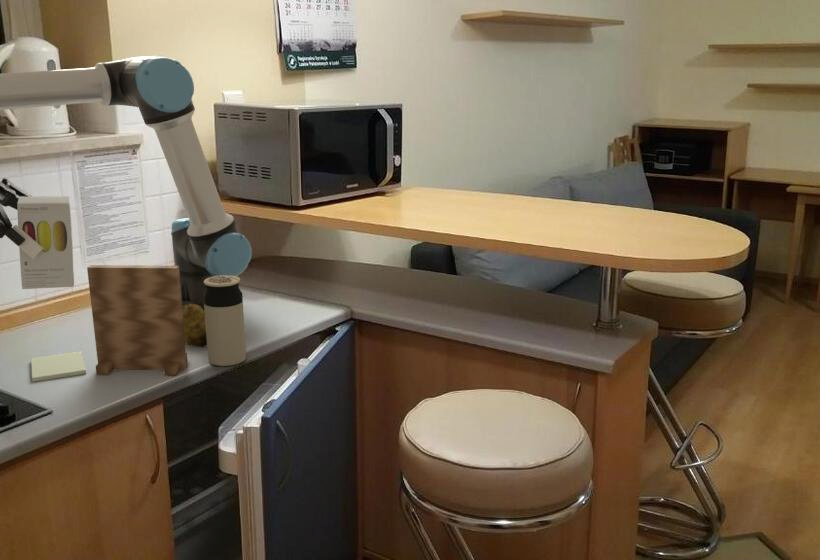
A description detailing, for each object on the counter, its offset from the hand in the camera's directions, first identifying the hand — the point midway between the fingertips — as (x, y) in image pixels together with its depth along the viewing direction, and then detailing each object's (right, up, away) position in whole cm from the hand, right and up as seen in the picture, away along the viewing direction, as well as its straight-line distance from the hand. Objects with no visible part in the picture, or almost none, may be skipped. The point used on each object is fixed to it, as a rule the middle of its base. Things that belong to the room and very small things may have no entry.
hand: (53, 246), depth 156 cm
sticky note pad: (-3, -25, +10) cm, 27 cm away
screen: (+14, -25, +10) cm, 31 cm away
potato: (+21, -21, +26) cm, 39 cm away
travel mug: (+31, -24, +14) cm, 42 cm away
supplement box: (-2, -7, +2) cm, 8 cm away
